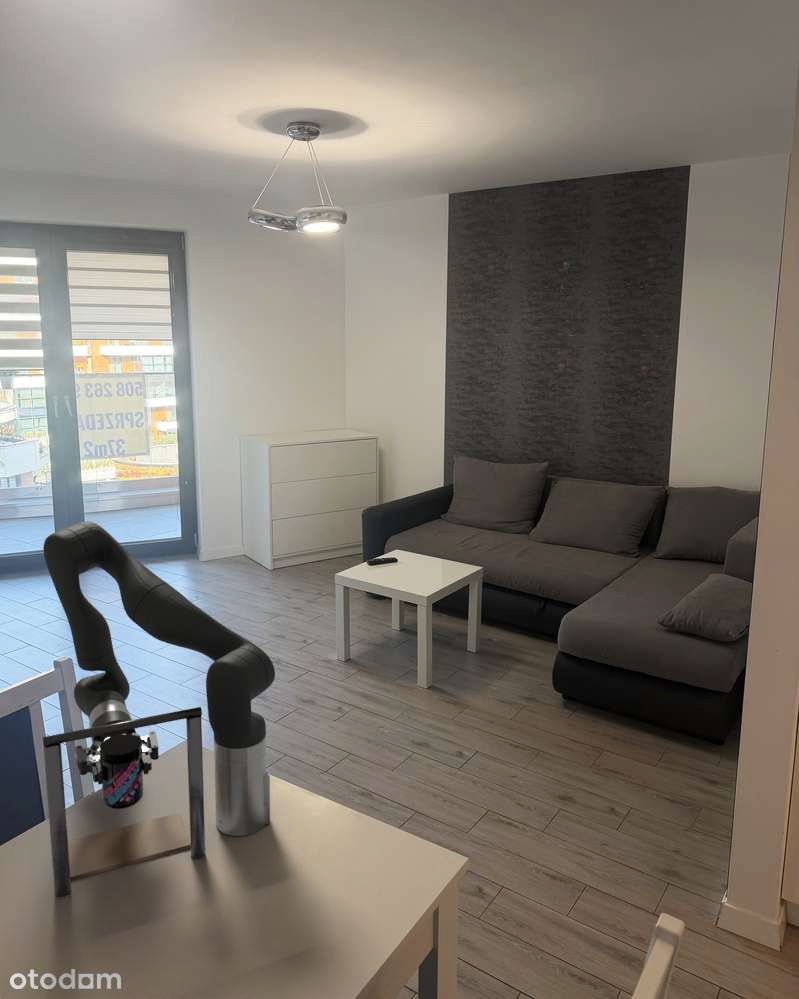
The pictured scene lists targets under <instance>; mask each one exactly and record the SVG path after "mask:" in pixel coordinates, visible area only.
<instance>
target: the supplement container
mask: <svg viewBox="0 0 799 999" xmlns="http://www.w3.org/2000/svg"><path fill="white" fill-rule="evenodd" d="M140 737H141V736H140ZM140 737H138V736H136V735H132V734H121V735H116V736H112V737H110V738H108V739H106V740H104V741H103V742H102V743H101V745H100V758H101V769H102V775H103V784H101V791H102V794H101V795H102V802H103V804H104V805H105V806H106V807H108V808H110V809H114V810H122V809H127V808H131V807H133V806H135V805H136V804H138V802H140V801H141V799H142V798H143V796H144V775H143V774H144V772H143V766H142V746H143V744H142V740H141V738H140Z"/></svg>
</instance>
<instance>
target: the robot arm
mask: <svg viewBox="0 0 799 999" xmlns="http://www.w3.org/2000/svg"><path fill="white" fill-rule="evenodd" d="M42 550H43V556H44V561H45V565H46V568H47V570H48V573H49V576H50V578H51V582H52V583H53V586H54V588H55V592H56V594H57V597H58V599H59V601H60V604H61V606H62V608H63V611H64V615H65V617H66V618H67V622H68V625H69V628H70V632H71V636H72V641H73V647H74V653H75V656H76V662H77V664H78V667H79V668H80V669H81V670H83V671H85V672H86V671H87V672H101V673H97V674H94V675H90V676H86V677H83V678H81V679H80V680H78V682H76V684H75V686H74V689H73V698H74V701H75V703H76V705H77V707H78V708H79V710H80V711H81V712H82V713H83V714H84V715H86V716H87V718H88V720H89V724H88V725H89V726H88V728H93V727H98V726H103V725H109V724H114V723H119V722H124V721H129V720H133V719H132V715H131V713H130V711H129V709H128V708H127V705H126V701H127V699H128V697H129V695H130V692H131V691H130V690H131V687H130V683H129V681H128V678H127V677H126V675H125V672H124V671H123V670H122V667H121V666H120V664H119V662H118V661H117V658H116V654H115V651H114V647H113V640H112V635H111V630H110V626H109V624H108V621H107V619H106V618H105V616H104V615H103V614H102V613H101V612H100V611H99V609H97V608H96V607H95V606H94V605H93V604H92V603H91V602H90V601H89V600H88V599H87V598H86V597H85V595H84V594H83V593H84V592H83V591H82V588H81V583H80V575H82V574H84V573H85V572H89V571H90V570H92V569H95V568H99V569H102V570H103V571H105V572H106V573H107V574H108V575H110V576H111V578H113V579H114V581H115V582H116V583H117V585H118V589H119V593H120V594H119V595H120V599H121V603H122V606H123V609H124V611H125V613H126V615H127V617H128V618H129V619H130V620H131V621H132V622H133V623H134V624H135V625H137V626H138V627H139V628H141V629H142V630H143V631H144V632H145V633H147V635H150V636H151V637H153V639H155V640H158V641H160V642H163V643H166V644H168V645H169V644H170V645H172V646H176V647H180V648H183V649H187V650H190V651H194V652H196V653H200V654H203V655H204V656H206V657H208V658H209V659H211V660H212V661H213V662H212V663H211V664H210V665H209V667H208V670H207V673H206V677H205V678H206V679H205V689H206V690H205V691H206V692H205V693H206V702H207V703H206V704H207V714H208V721H209V726H210V728H211V730H212V731H213V747H214V748H213V750H214V752H213V753H214V756H213V757H214V759H213V760H214V790H215V792H214V794H215V824H216V827H217V829H218V830H219V831H220V833H222V834H224V835H227V836H231V837H243V836H248V835H252V834H254V833H256V832H258V831H259V830H261V829H262V828H263V827H264V826H266V825H269V824H270V823H271V778H270V774H269V773H268V772H267V732H266V731H267V730H266V729H267V728H266V727H267V724H266V720H265V718H264V717H263V716H262V715H261V714H259V713H257V712H253V711H252V701H253V699H255V698H257V697H259V696H260V695H261V694H262V693H264V692H265V691H266V690H267V689H269V688H270V687H271V686H272V685H273V683H274V682H275V678H276V671H275V666H274V664H273V662H272V660H271V658H270V657H269V655H268V654H267V653H266V652H265V651H264V650H262V648H260V647H259V646H257V645H256V644H255V643H253V642H251V641H250V640H249V639H247V638H245V637H243V636H241V635H239V634H238V633H236V632H235V631H233V630H232V629H231V628H228V627H227V626H225V625H223V624H222V623H220V622H219V621H218V620H217V619H215V618H213V617H212V616H211V615H210V614H208V613H207V612H205V610H202V609H201V608H200V607H198V606H197V605H195V604H194V603H193V602H192V601H190V600H189V599H188V598H187V597H185V596H184V594H182V593H181V592H180V591H178V590H177V589H175V587H173V586H172V585H170V584H169V583H168V582H166V581H165V580H163V579H162V578H160V577H159V576H158V575H156V574H155V573H154V572H153V571H152V570H150V569H149V568H148V567H147V566H145V565H144V564H143V563H142V562H141V561H139V560H138V559H136V558H135V556H134V555H133V554H131V553H130V552H129V551H128V549H126V548H125V547H124V546H122V544H121V543H120V542H119V541H117V540H116V539H115V538H114V537H113V536H112V534H110V533H109V532H108V531H107V530H106V529H105V528H103V527H102V526H100V525H99V524H97V523H95V522H93V521H81V522H78V523H76V524H72V525H71V526H67V527H65V528H62V529H60V530H58V531H55V532H53V533H51V534H49V535H48V536H47V537H46V538H45V540H44V542H43V549H42ZM156 733H157V732H156V731H155V730H151V731H149V732H148V735H145V736H141V735H139V734H138V733H137V732H136V728H135V729H130V730H125V731H120V732H115V733H110V734H105V735H100V736H95V737H90V738H91V742H92V744H91V746H89V747H84V748H83V745H76V746H74V754H75V762H76V765H77V769H78V773H79V775H81V776H85V775H87V774H88V773H90V774H91V776H92V781H93V782H94V783H97V785H102V784H103V775H102V769H101V758H100V745H101V743H102V742H103V741H104V740H106V739H108V738H110V737H112V736H116V735H121V734H132V735H136V736H138V737H140V738H141V740H142V766H143V774H144V775H148V774H149V773H150V771H152V769H153V767H152V766H153V765H152V763H153V762H152V760H154V761H157V760H159V758H160V756H159V755H160V754H159V741H158V737H157V734H156ZM89 756H93V757H92V758H91V759H90V760H88V758H89ZM144 775H143V776H144Z"/></svg>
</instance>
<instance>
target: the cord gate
mask: <svg viewBox="0 0 799 999" xmlns="http://www.w3.org/2000/svg"><path fill="white" fill-rule="evenodd" d="M202 711H203V710H202V707H201V706H197V707H192V708H187V709H182V710H177V711H172V712H167V713H162V714H161V713H160V714H157V715H151V716H146V717H140V718H136V719H132V720H129V721H124V722H119V723H114V724H109V725H103V726H98V727H93V728H89V727H88V728H83V729H78V730H73V731H69V732H62V733H58V734H53V735H47V736H46V735H45V736H43V737H42V744H43V756H44V768H45V782H46V794H47V808H48V810H47V811H48V822H49V834H50V835H49V836H50V846H51V847H50V848H51V849H50V850H51V859H52V860H51V861H52V874H53V887H54V896H55V897H56V898H57V897H58V899H62V898H61V897H64V898H66V897H68V896H69V895H71V893H72V882H71V881H72V880H71V879H70V865H69V851H68V841H69V839H68V837H69V836H68V824H67V811H66V809H67V808H66V797H65V785H64V783H65V782H64V773H63V772H64V771H63V757H62V756H63V755H62V753H63V752H62V744H65V743H68V742H73V741H79V740H83V739H84V740H85V739H90V738H91V737H95V736H100V735H105V734H110V733H115V732H120V731H125V730H130V729H135V730H136V729H139V728H144V727H145V728H146V727H150V726H154V725H155V726H156V725H161V724H166V723H171V722H176V721H179V720H185V719H186V720H185V721H186V722H185V723H186V747H187V748H186V749H187V751H186V752H187V776H188V779H187V780H188V804H189V806H188V807H189V808H188V809H189V810H188V811H189V832H190V833H189V835H190V836H189V841H190V843H191V848H190V857H191V859H193V860H201V859H203V858H204V857H205V856H206V833H205V832H206V831H205V825H206V824H205V802H204V801H205V798H204V796H205V794H204V768H203V766H204V765H203V764H204V762H203V734H202V733H203V731H202V730H203V729H202V728H203V727H202V725H203V724H202V715H203V712H202ZM67 895H68V896H67ZM65 896H66V897H65ZM59 897H60V898H59Z"/></svg>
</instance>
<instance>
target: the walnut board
mask: <svg viewBox="0 0 799 999" xmlns="http://www.w3.org/2000/svg"><path fill="white" fill-rule="evenodd" d="M190 847H191V841H190V837H189V835H188V833H187V830H186V827H185V824H184V822H183V819H182V816H181V813H180V812H177V813H173V814H169V815H166V816H161V817H157V818H153V819H149V820H145V821H142V822H137V823H134V824H130V825H126V826H122V827H118V828H113V829H110V830H109V829H108V830H105V831H102V832H98V833H94V834H90V835H86V836H81V837H78V838H74V839H71V840H70V839H69V840H68V851H69V865H70V879H71V881H74V880H76V879H77V880H78V879H81V878H85V877H88V876H92V875H96V874H99V873H103V872H105V871H109V870H115V869H117V868H121V867H124V866H129V865H132V864H136V863H139V862H143V861H146V860H147V861H148V860H151V859H153V858H157V857H161V856H165V855H168V854H172V853H176V852H179V851H183V850H187V849H191V848H190Z"/></svg>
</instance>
